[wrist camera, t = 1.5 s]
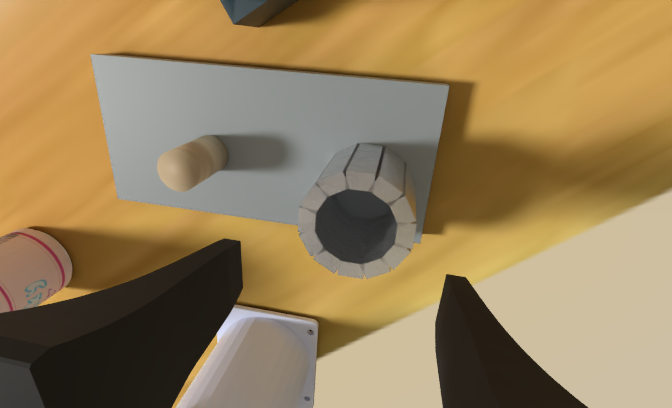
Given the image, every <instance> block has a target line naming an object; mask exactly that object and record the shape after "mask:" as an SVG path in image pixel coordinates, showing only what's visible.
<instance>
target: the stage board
mask: <svg viewBox="0 0 672 408" xmlns="http://www.w3.org/2000/svg"><path fill="white" fill-rule="evenodd" d="M90 55H91V60H92V65H93V70H94V76H95V81H96V86H97V91H98V97H99V102H100V107H101V112H102V118H103V123H104V128H105V133H106V139H107V144H108V149H109V154H110V160H111V165H112V170H113V175H114V181H115V186H116V191H117V196H118V199H123V200H129V201H136V202H143V203H150V204H156V205H163V206H170V207H177V208H184V209H190V210H197V211H204V212H211V213H217V214H224V215H231V216H238V217H244V218H251V219H258V220H265V221H272V222H278V223H285V224H292V225H298V218H299V207H300V204H301V202H302V201H303V199H304V198H305V196H306V195H307V193H308V192H309V191H310V189H311V188H312V186H313V185H314V183H315V182H316V180H317V179H318V178H319V176H320V175H321V173H322V172H323V170H324V169H325V167H326V166H327V165H328V163H329V162H330V160H331V159H332V157H333V156H334V155H335V154H336V153H337V152H338V151H341V150H343V149H345V148H348V147H350V146H352V145H354V144H357V143H358V146H359V145H360V143H367V144H376V145H383V150H384V149H385V147H388V148H389V149H390V150H392V151H393V152H394V153H396V154H397V155H399V156H400V157H401V158H403V159H404V163H406V162H407V165H408V167H409V170H410V172H411V174H412V177H413V179H414V181H415V194H416V219H417V226H416V231H415V237H414V243H420V241H421V236H422V231H423V225H424V220H425V215H426V209H427V204H428V198H429V193H430V188H431V182H432V177H433V171H434V166H435V161H436V155H437V150H438V145H439V139H440V134H441V128H442V123H443V118H444V112H445V107H446V101H447V96H448V91H449V85H448V84H447V83H436V82H424V81H413V80H401V79H390V78H378V77H367V76H355V75H344V74H332V73H321V72H309V71H298V70H287V69H275V68H264V67H252V66H241V65H229V64H218V63H206V62H195V61H183V60H172V59H160V58H149V57H137V56H126V55H114V54H90ZM204 135H212V136H215V137H217V138H219V139H220V140H221V141H222V142H223V143H224V144H225V146H226V148H227V150H228V162H227V164H226V166H225V167H224V168H222V169H221V170H219V171H218V172H216V173H215V174H213V175H212V176H210V177H209V178H207V179H206V180H204V181H203V182H201V183H199V184H198V185H196V186H195V187H193V188H192V189H190V190H189V191H185V192H178V191H174V190H172V189H170V188H169V187H167V186H166V185H165V184H164V183H163V181H162V180H161V179H160V177H159V174H158V171H157V162H158V159H159V157H160V156H161V155H162V154H163V153H165V152H167V151H169V150H172V149H174V148H176V147H178V146H181V145H183V144H185V143H188V142H190V141H192V140H194V139H197V138H199V137H201V136H204ZM336 196H337V198H338V200H339V202H340V204H341V206H342V208H344V209H345V210H347V211H348V212H349V213H351V214H352V215H354V216H355V217H361V218H368V219H374V218H376V217H379V216H382V215H385V214H388V212H389V211H390V210H391V208H390V206H389V205H388V204H387V203H386V202H384V201H383V200H381V199H380V198H379V197H377V196H376V195H374V194H373V193H372V192H368V191H361V190H353V189H346V190H343V191H341V192H338V193H336Z"/></svg>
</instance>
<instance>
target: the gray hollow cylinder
mask: <svg viewBox="0 0 672 408" xmlns="http://www.w3.org/2000/svg"><path fill="white" fill-rule="evenodd" d="M346 189H353V190H361V191H368V192H372V193H373V194H374V195H376V196H377V197H379V198H380V199H381V200H383V201H384V202H386V203H387V204H388V205H389V206H390V208H391V210H390V211H389V212H388V214H385V215H382V216H379V217H376V218H374V219H368V218H361V217H355V216H354V215H352V214H351V213H349V212H348V211H347V210H345V209H344V208H342V206H341V204H340V202H339V200H338V198H337V196H336V193H338V192H341V191H343V190H346ZM416 226H417V219H416V194H415V181H414V179H413V177H412V174H411V172H410V170H409V167H408V165H407V162H406V163H404V159H403V158H401V157H400V156H399V155H397V154H396V153H394V152H393V151H392V150H390V149H389V148H388V147H385V149H384V150H383V145H376V144H367V143H360V145H359V146H358V143H357V144H354V145H352V146H350V147H348V148H345V149H343V150H341V151H338V152H337V153H336V154H335V155H334V156H333V157H332V159H331V160H330V162H329V163H328V165H327V166H326V167H325V169H324V170H323V172H322V173H321V175H320V176H319V178H318V179H317V180H316V182H315V183H314V185H313V186H312V188H311V189H310V191H309V192H308V193H307V195H306V196H305V198H304V199H303V201H302V202H301V204H300V207H299V218H298V232H300V234H299V236H300V238H301V240H302V241H303V243H304V245H305V247H306V249H307V251H308V252H309V254H310V256H314V255H315V256H314V260H315V261H317V262H318V263H320V264H321V265H323V266H324V267H326V268H327V269H328V270H330V271H331V272H333V273H335V272H336V271H337V270H338V275H342V276H348V277H354V278H360V279H363V277H364V275H365V277H366V279H368V278H371V277H374V276H378V275H381V274H384V273H388V272H391V268H392V269H393V270H394V269H395V268H396V267H397V266H398V265H399V264H400V263H401V262H402V261H403V260H404V259H405V258H406V257H407V255H408V254H409V253H410V252H411V249H412V248H413V243H414V237H415V231H416Z"/></svg>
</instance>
